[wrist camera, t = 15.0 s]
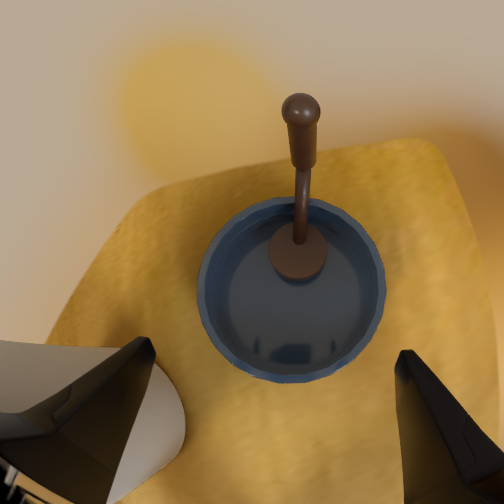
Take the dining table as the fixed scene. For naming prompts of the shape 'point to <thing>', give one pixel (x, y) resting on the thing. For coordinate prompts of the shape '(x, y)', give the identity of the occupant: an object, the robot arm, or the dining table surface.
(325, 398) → the dining table surface
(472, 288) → the dining table surface
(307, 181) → the ladle
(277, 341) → the bowl
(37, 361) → the cylinder vase
